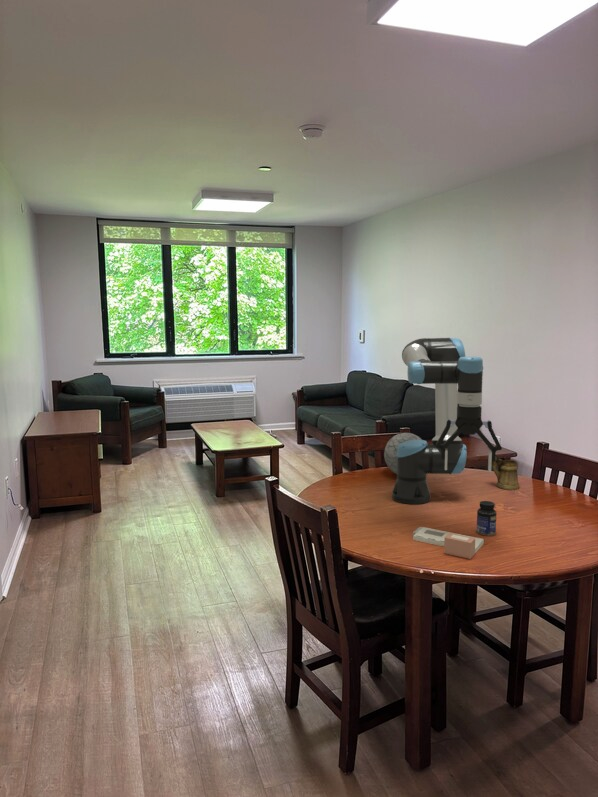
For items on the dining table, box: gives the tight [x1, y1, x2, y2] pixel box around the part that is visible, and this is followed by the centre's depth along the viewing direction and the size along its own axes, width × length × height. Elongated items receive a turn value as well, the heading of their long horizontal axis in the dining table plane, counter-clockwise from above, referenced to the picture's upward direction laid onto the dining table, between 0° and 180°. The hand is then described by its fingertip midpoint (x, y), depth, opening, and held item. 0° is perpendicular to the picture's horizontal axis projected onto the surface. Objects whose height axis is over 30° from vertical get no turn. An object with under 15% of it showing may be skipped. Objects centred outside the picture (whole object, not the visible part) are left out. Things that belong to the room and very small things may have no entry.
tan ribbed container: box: [486, 445, 520, 491], centre depth 241 cm, size 9×14×18 cm, turn 81°
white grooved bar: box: [412, 526, 485, 554], centre depth 181 cm, size 20×9×2 cm, turn 57°
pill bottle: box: [476, 500, 497, 537], centre depth 188 cm, size 6×6×11 cm
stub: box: [443, 532, 476, 560], centre depth 172 cm, size 8×4×5 cm, turn 57°
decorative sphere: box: [383, 432, 423, 475], centre depth 259 cm, size 20×20×20 cm
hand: (467, 470), depth 183 cm, fingers open, 13 cm apart
